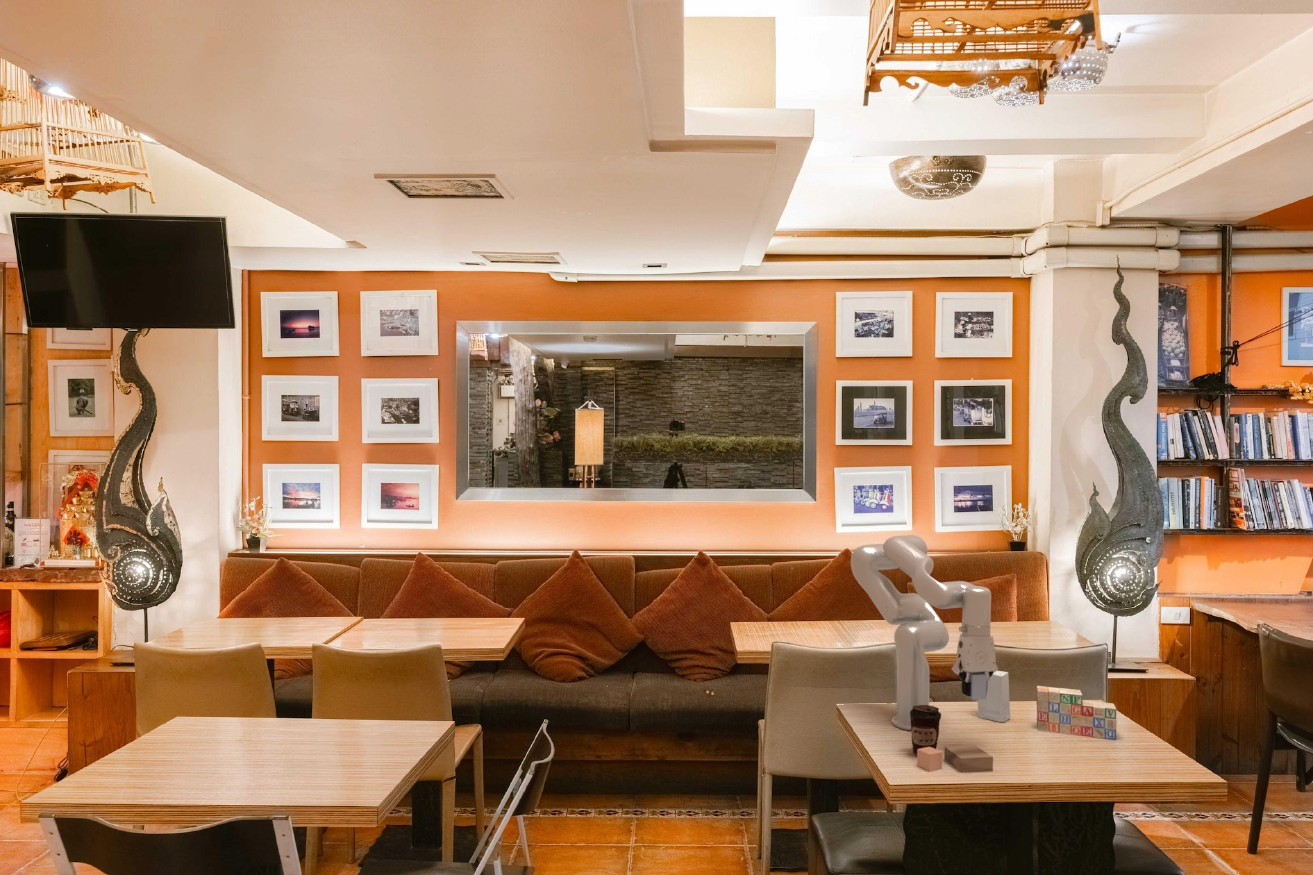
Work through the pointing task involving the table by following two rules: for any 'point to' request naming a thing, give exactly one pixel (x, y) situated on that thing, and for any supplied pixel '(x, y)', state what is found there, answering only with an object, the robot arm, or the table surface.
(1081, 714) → the stack of blocks
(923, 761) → the terracotta cube
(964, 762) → the plinth
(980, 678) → the slate block
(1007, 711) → the skincare box
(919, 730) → the coffee cup
